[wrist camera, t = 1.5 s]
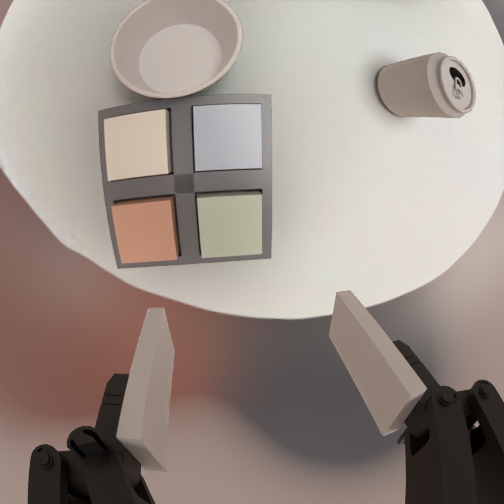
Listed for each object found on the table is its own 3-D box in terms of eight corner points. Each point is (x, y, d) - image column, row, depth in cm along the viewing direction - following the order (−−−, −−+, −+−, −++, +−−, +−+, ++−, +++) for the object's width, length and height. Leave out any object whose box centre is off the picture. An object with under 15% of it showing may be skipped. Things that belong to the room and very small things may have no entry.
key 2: (119, 200, 25) (111, 206, 23) (173, 195, 26) (170, 200, 24) (127, 253, 28) (121, 263, 25) (179, 250, 28) (177, 259, 26)
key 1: (198, 193, 26) (197, 198, 24) (257, 189, 27) (262, 194, 25) (202, 248, 29) (201, 258, 26) (258, 244, 30) (262, 254, 27)
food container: (197, 125, 26) (195, 120, 20) (108, 85, 22) (86, 72, 16) (254, 42, 23) (267, 20, 17) (166, 4, 19) (159, -23, 13)
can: (418, 81, 26) (481, 75, 15) (411, 125, 29) (477, 131, 18) (378, 56, 25) (439, 36, 14) (369, 103, 27) (435, 96, 16)
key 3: (195, 109, 23) (193, 106, 21) (256, 107, 24) (261, 104, 21) (197, 168, 25) (195, 171, 23) (257, 165, 26) (261, 168, 24)
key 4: (112, 120, 22) (104, 119, 20) (169, 111, 23) (165, 109, 20) (116, 177, 24) (108, 181, 22) (172, 170, 25) (168, 173, 23)
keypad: (111, 113, 24) (98, 110, 20) (263, 100, 26) (271, 94, 23) (127, 254, 31) (117, 268, 27) (264, 244, 33) (271, 258, 29)
